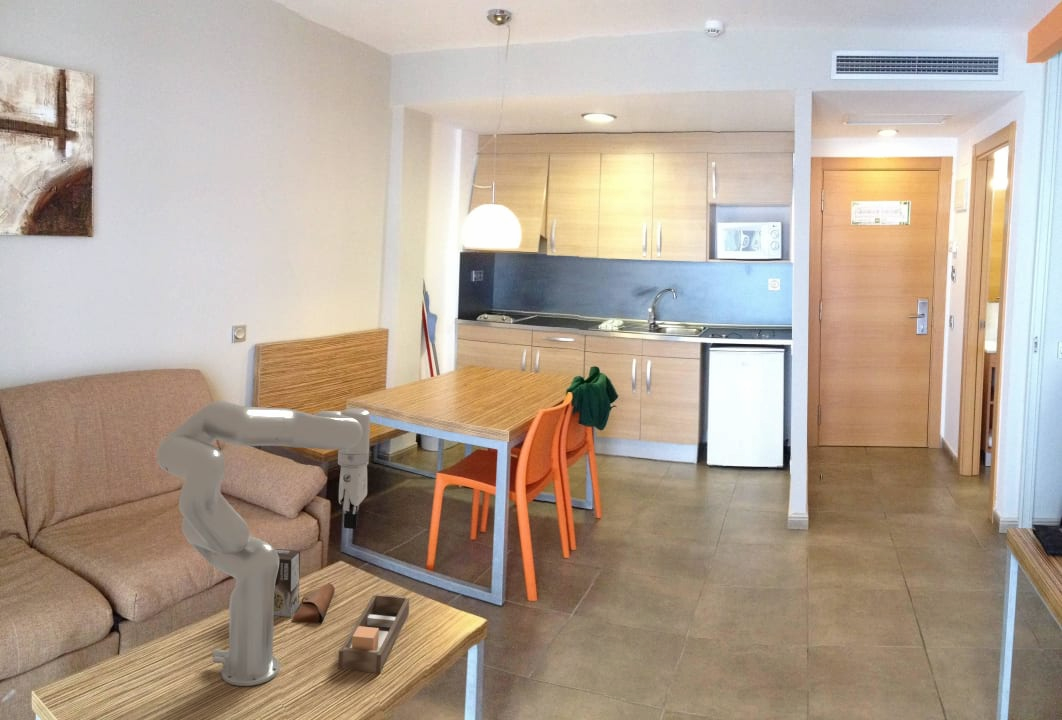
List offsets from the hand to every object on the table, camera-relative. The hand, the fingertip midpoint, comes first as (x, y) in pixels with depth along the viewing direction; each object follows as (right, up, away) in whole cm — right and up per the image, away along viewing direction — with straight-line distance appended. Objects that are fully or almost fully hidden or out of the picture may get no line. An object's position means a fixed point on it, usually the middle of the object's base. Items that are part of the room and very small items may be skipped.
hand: (350, 527), depth 203 cm
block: (+6, -27, -12) cm, 31 cm away
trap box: (+7, -28, -1) cm, 29 cm away
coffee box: (-22, -25, +10) cm, 34 cm away
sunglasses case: (-13, -25, +13) cm, 31 cm away
